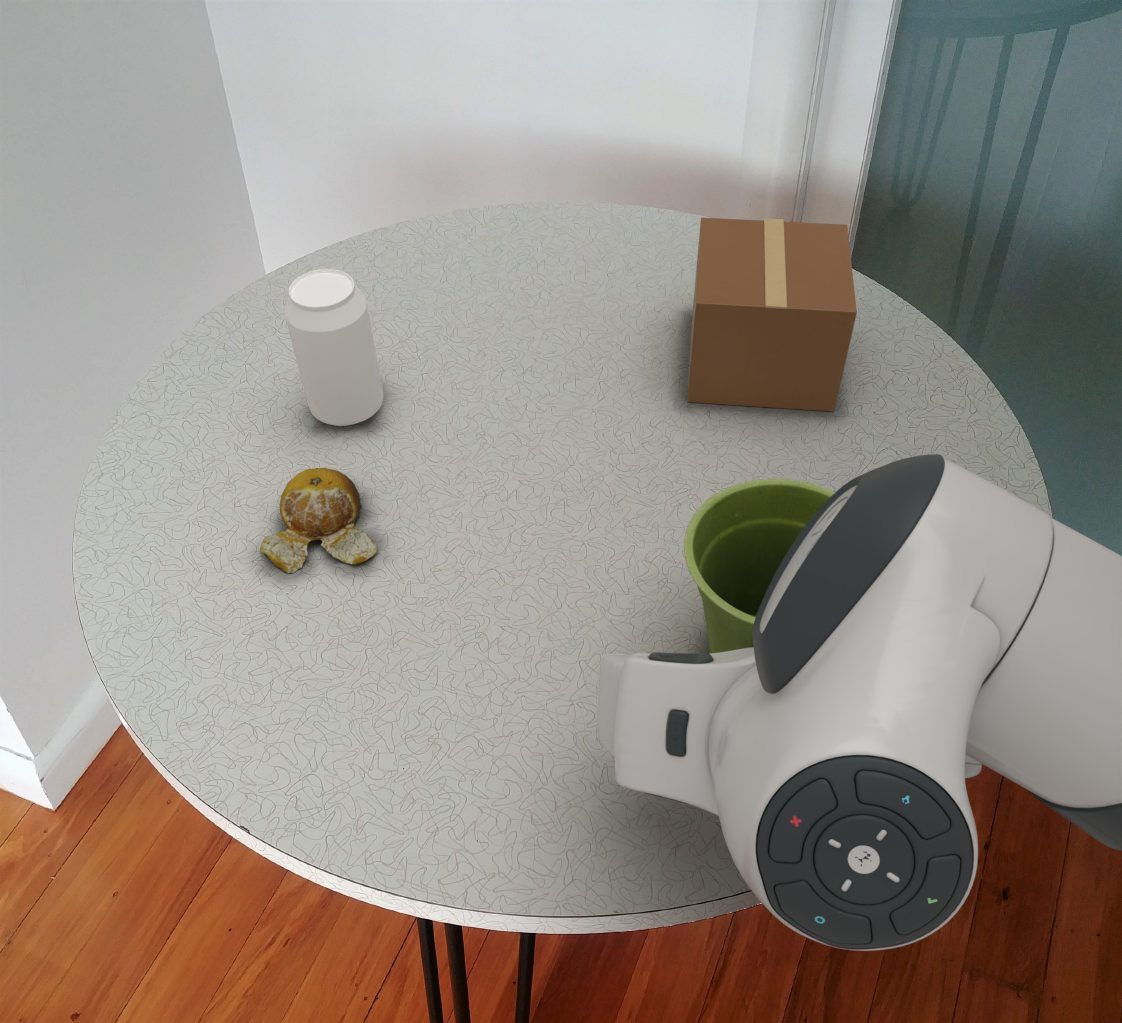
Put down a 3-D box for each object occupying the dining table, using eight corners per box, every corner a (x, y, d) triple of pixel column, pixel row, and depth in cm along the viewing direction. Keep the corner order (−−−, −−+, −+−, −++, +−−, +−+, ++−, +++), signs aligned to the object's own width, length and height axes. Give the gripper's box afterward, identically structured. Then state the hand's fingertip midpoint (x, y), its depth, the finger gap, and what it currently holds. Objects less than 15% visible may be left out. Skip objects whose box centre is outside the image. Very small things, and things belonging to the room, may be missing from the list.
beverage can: (394, 420, 87) (373, 299, 78) (321, 441, 85) (290, 320, 76) (373, 375, 91) (350, 255, 82) (302, 395, 89) (271, 275, 80)
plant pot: (808, 574, 75) (835, 460, 67) (885, 713, 67) (927, 604, 59) (649, 610, 73) (657, 498, 65) (709, 757, 65) (727, 651, 57)
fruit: (261, 574, 76) (249, 541, 73) (271, 491, 82) (260, 457, 79) (377, 564, 76) (370, 531, 74) (379, 483, 82) (372, 448, 79)
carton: (834, 412, 87) (857, 311, 79) (686, 402, 88) (696, 301, 80) (827, 322, 95) (847, 222, 87) (692, 314, 96) (701, 215, 88)
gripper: (1033, 692, 49) (951, 645, 63) (593, 654, 51) (607, 616, 65) (1021, 827, 49) (942, 750, 63) (583, 783, 51) (600, 718, 65)
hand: (770, 682), depth 64 cm, fingers closed
